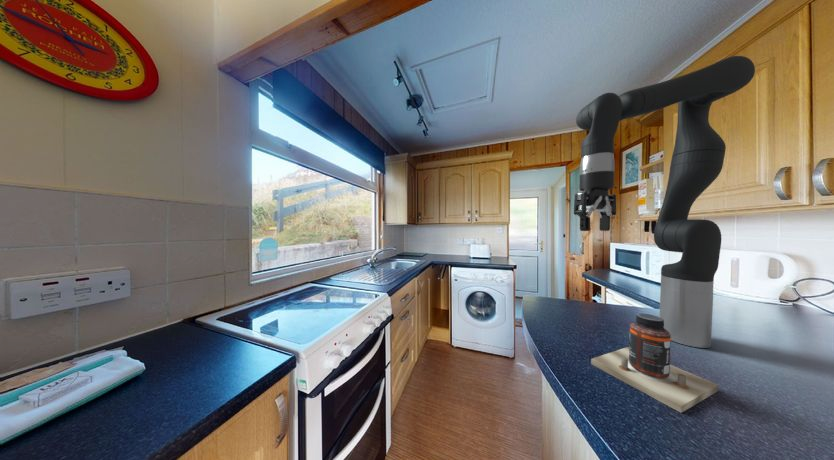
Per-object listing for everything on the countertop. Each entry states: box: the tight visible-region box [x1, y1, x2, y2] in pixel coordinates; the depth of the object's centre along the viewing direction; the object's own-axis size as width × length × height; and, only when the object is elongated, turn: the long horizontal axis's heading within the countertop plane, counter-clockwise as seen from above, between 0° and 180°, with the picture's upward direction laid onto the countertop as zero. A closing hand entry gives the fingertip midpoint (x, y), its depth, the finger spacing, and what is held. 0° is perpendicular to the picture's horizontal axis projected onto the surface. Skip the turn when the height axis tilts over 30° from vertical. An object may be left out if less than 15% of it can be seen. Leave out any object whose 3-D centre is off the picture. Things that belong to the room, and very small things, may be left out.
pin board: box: [590, 346, 719, 414], centre depth 47 cm, size 14×14×3 cm
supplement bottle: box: [628, 313, 672, 378], centre depth 46 cm, size 6×6×11 cm
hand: (595, 230), depth 62 cm, fingers open, 8 cm apart
